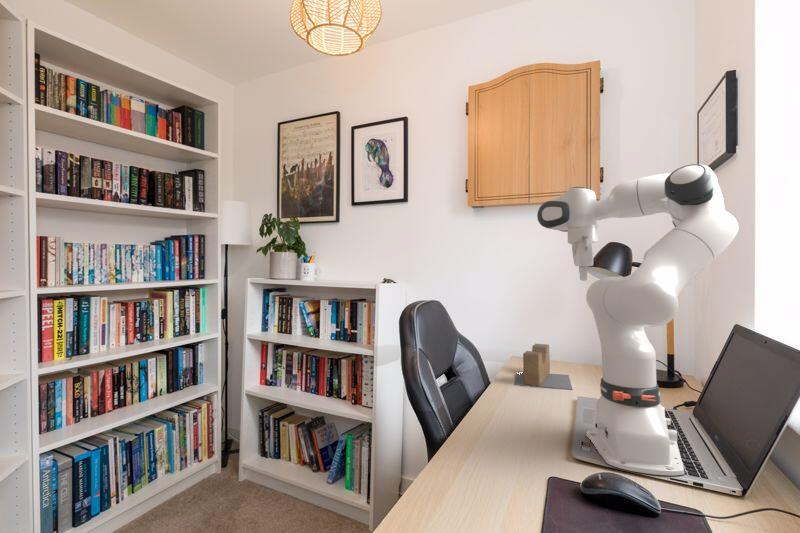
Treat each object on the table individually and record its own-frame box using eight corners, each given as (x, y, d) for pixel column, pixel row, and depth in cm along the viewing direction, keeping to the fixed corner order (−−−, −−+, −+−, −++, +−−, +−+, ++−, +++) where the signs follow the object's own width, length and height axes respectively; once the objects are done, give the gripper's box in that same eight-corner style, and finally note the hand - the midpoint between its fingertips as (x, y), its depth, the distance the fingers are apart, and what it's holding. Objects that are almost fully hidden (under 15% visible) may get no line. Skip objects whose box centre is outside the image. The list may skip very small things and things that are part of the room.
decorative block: (539, 354, 134) (549, 344, 152) (522, 353, 137) (534, 343, 154) (540, 386, 134) (550, 372, 151) (523, 384, 137) (535, 371, 154)
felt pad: (572, 390, 131) (572, 388, 131) (513, 385, 137) (513, 384, 137) (568, 375, 148) (568, 374, 148) (516, 372, 154) (516, 371, 154)
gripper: (598, 234, 114) (599, 281, 114) (589, 238, 133) (590, 279, 133) (574, 235, 116) (575, 281, 116) (569, 239, 135) (570, 279, 135)
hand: (583, 280), depth 125 cm, fingers closed
